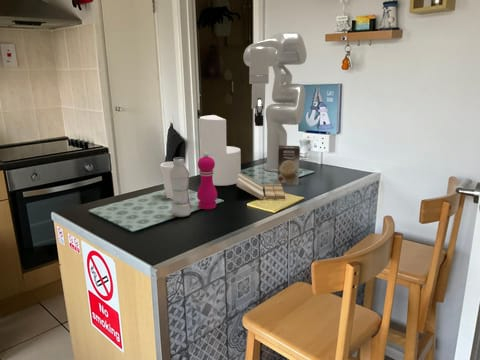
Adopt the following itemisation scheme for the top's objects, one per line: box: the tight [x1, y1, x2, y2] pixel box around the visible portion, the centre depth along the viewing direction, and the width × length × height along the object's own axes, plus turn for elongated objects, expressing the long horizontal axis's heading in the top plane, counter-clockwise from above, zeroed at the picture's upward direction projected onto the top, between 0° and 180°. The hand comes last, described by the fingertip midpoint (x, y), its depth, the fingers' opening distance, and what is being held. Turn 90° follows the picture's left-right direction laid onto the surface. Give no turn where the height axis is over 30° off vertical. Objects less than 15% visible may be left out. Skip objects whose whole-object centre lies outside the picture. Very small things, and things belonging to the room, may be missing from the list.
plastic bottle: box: [170, 156, 192, 218], centre depth 134 cm, size 6×7×20 cm
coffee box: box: [276, 145, 301, 186], centre depth 171 cm, size 9×6×16 cm
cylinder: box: [199, 114, 242, 186], centre depth 175 cm, size 17×17×28 cm
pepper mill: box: [196, 153, 218, 210], centre depth 142 cm, size 7×7×20 cm
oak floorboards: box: [263, 183, 286, 200], centre depth 159 cm, size 16×7×2 cm, turn 179°
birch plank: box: [236, 171, 265, 201], centre depth 158 cm, size 16×11×2 cm
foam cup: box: [159, 161, 186, 200], centre depth 155 cm, size 10×9×13 cm
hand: (258, 124), depth 162 cm, fingers open, 8 cm apart
